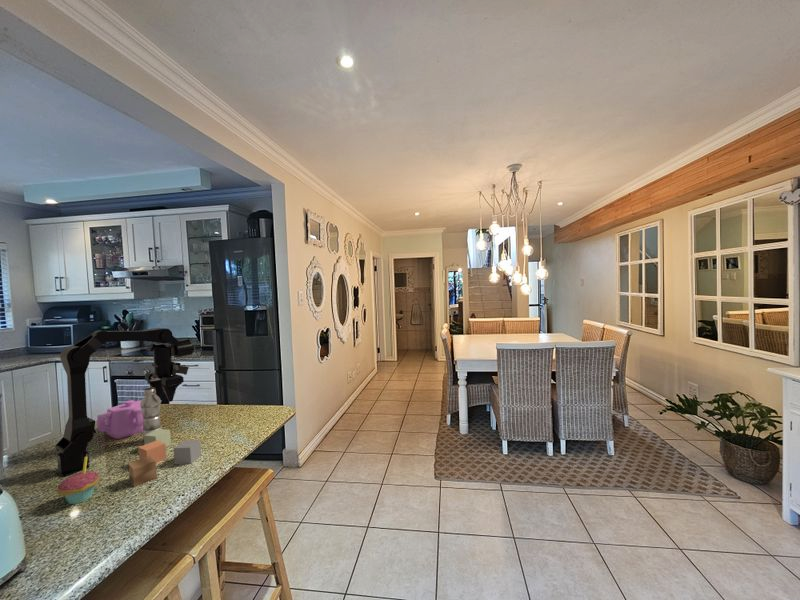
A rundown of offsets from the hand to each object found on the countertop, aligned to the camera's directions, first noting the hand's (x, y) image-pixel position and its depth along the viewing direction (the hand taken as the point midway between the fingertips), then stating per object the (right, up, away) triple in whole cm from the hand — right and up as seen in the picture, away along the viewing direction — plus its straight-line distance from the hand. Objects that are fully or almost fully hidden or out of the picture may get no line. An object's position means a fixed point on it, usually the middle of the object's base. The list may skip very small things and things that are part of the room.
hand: (165, 399), depth 132 cm
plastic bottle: (-2, -15, -3) cm, 15 cm away
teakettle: (-19, -15, +8) cm, 26 cm away
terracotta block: (+9, -15, -19) cm, 26 cm away
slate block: (+21, -15, -19) cm, 32 cm away
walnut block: (+14, -16, -30) cm, 37 cm away
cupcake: (+3, -16, -39) cm, 42 cm away
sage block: (+3, -15, -9) cm, 18 cm away
